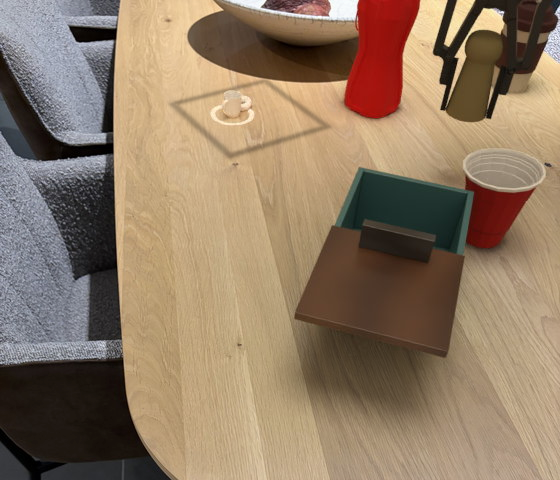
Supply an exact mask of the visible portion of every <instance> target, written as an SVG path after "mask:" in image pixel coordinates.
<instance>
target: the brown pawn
mask: <svg viewBox="0 0 560 480" xmlns="http://www.w3.org/2000/svg"><path fill="white" fill-rule="evenodd" d="M500 34H501V33H499V32H497V31H494V30H491V29H477V30H475V31H472V32H471V33H469V34H468V36H467V38H466V40H465V44H464V54H465V59H464V61H463V64H462V66H461V69H460V71H459V74H458V77H457V79H456V82H455V84H454V86H453V89H452V91H451V93H450V94H451V95H449V98H448V102H447V106H446V109H445V113H446V114H447V116H449V117H450V118H452V119H453V120H456V121H459V122H464V123H478V122H481V121H484V120H486V114H487V109H488V106H489V103H490V96H491V90H492V79H493V73H494V68H495V62H496V61H497V60H498V59H499V58H500V56H501V55H502V52H503V49H504V39H503V37H502V36H501V35H500Z"/></svg>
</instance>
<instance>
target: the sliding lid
mask: <svg viewBox="0 0 560 480" xmlns="http://www.w3.org/2000/svg"><path fill="white" fill-rule="evenodd" d="M334 225H335V224H332V225H331V226H330V229H329V231H328V233H327V236H326V238H325V241H324V243H323V245H322V247H321V249H320V252H319V254H318V256H317V259H316V262H315V264H314V265H313V269H312V271H311V273H310V276H309V278H308V280H307V283H306V285H305V287H304V290H303V292H302V295H301V297H300V299H299V302H298V304H297V305H296V308H295V311H294V315H293V316H294V317H293V319H294V320H296V321H300V322H304V323H306V324H307V323H308V324H310V325H311V324H312V325H315V326H320V327H323V328H327V329H331V330H335V331H339V332H341V333H342V332H343V333H346V334H350V335H355V336H358V337H362V338H366V339H370V340H374V341H378V342H381V343H385V344H389V345H392V346H397V347H401V348H405V349H408V350H413V351H417V352H420V353H424V354H428V355H432V356H434V357H435V356H436V357H438V358H439V357H440V358H442V359H446V358H447V356H448V355H449V349H450V344H451V337H452V334H453V333H452V332H453V327H454V322H455V315H456V309H457V305H458V304H457V303H458V298H459V291H460V287H461V286H460V285H461V282H462V281H461V280H462V274H463V269H464V262H465V256H466V255H464V254H463V255H459V254H455V253H451V252H446V251H442V250H438V249H433V246H434V243H435V239H436V235H433V234H429V233H424V232H420V231H415V230H411V229H407V228H402V227H398V226H393V225H389V224H385V223H380V222H376V221H371V220H367V219H365V220H364V222H363V225H362V230H361V232H360V231H355V230H351V229H347V228H342V227H338V226H334Z"/></svg>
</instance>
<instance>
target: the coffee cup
mask: <svg viewBox="0 0 560 480" xmlns="http://www.w3.org/2000/svg"><path fill="white" fill-rule="evenodd" d="M536 6H537V2H536V1H535V0H522V1H521V2H520V3H519V4H518V22H517V58H520V57H523V55H524V51H525V47H526V44H527V40H528V36H529V32H530V28H531V25H532V21H533V17H534V13H535V10H536ZM501 21H502V22H503V27H502V29H501V31H500V33H499V34H500V35H501V36H502V37H503V39H504V49H503V52H502V55H501V56H500V58H499V59H498V60H497V61H496V62H495V68H494V73H493V79H492V85H491V87H495V84H496V80H497V77H498V74H499V71H500V67H501V65H504V66H507V12H505V11H503V15H502V20H501ZM558 23H559V17H558V15H557V14H555V12H554V7H553V6H552V5H551V4H550V6H549V7H548V9H547V11H546V14H545V18H544V21H543V25H542V28H541V32H540V36H539V39H538V43H537V46H536V50H535V54H534V57H533V61H532V64H531V67H530V69H529V70H527V71H524V70H520V71H517V72H516V73H515V74H514V76H513V79H512V82H511V85H510V88H509V91H508V93H513V94H514V93H517V94H518V93H522V92H524V91H525V90H526V89H527V87H528V85H529V82H530V80H531V78H532V75H533V73H534V72H535V71H536V69H537V67H538V64H539V62H540V60H541V58H542V56H543V53H544V51H545V49H546V46H547V44H548V42H549V37H550V34H551V32H554V31H555V30H556V28H557V25H558Z"/></svg>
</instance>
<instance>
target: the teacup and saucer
mask: <svg viewBox="0 0 560 480" xmlns="http://www.w3.org/2000/svg"><path fill="white" fill-rule="evenodd" d="M252 105H253V100H252V99H251V98H250V97H249V96H248V95H243V94H242V93H241V92H240V91H238V90H227V91H225V92H224V93H223V101H222V103H221V104H218V105H216V106H214V107H213V108H212V109H211V110H210V112H209V116H210V118H211V119H212V120H213V121H214V122H216V123H218V124H221V125H224V126H231V127H236V126H242V125H247V124H249V123H251V122H252V121H253V120H254V119H255V117H256V115H255V111H254V110H253V109H252V108H251V107H252ZM220 109H222V112H223V114H225V115H226V117H228V118H230V119H231V118H232V119H235V118H238V117H239V116H240V114H241V112H245V111H247V112H248V114H249V116H248V118H247V119H245V120H243V121H240V122H226V121H223V120H221V119H219V118H218V117H217V115H216V113H217V112H218V110H220Z"/></svg>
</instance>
